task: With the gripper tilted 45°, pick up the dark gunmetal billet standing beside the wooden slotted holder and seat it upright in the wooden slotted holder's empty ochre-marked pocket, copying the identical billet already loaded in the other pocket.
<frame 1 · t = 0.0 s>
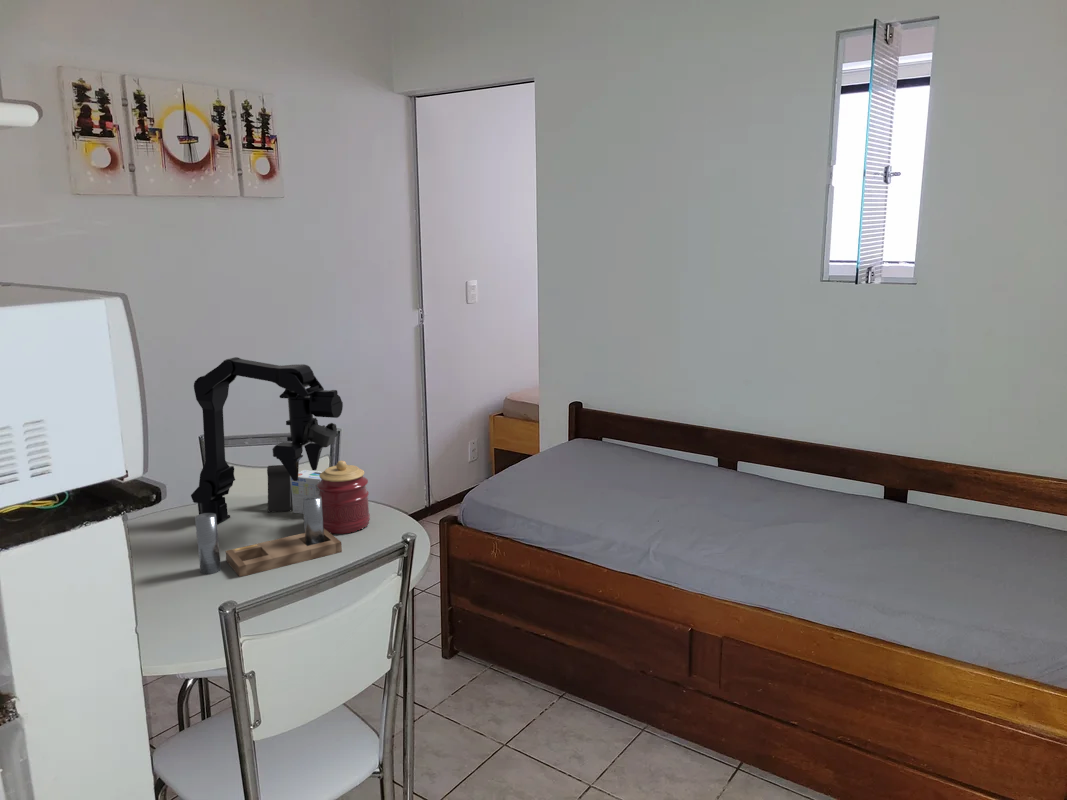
hand: (305, 475, 202), 15 cm above the table, tool pointing down, fingers open, 9 cm apart
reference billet: (315, 549, 192), resting in wooden slotted holder
canister: (345, 526, 208), on the table
billet: (210, 570, 181), on the table
light bulb box: (315, 512, 219), on the table
phone stand: (282, 507, 222), on the table
wooden slotted holder: (284, 556, 188), on the table
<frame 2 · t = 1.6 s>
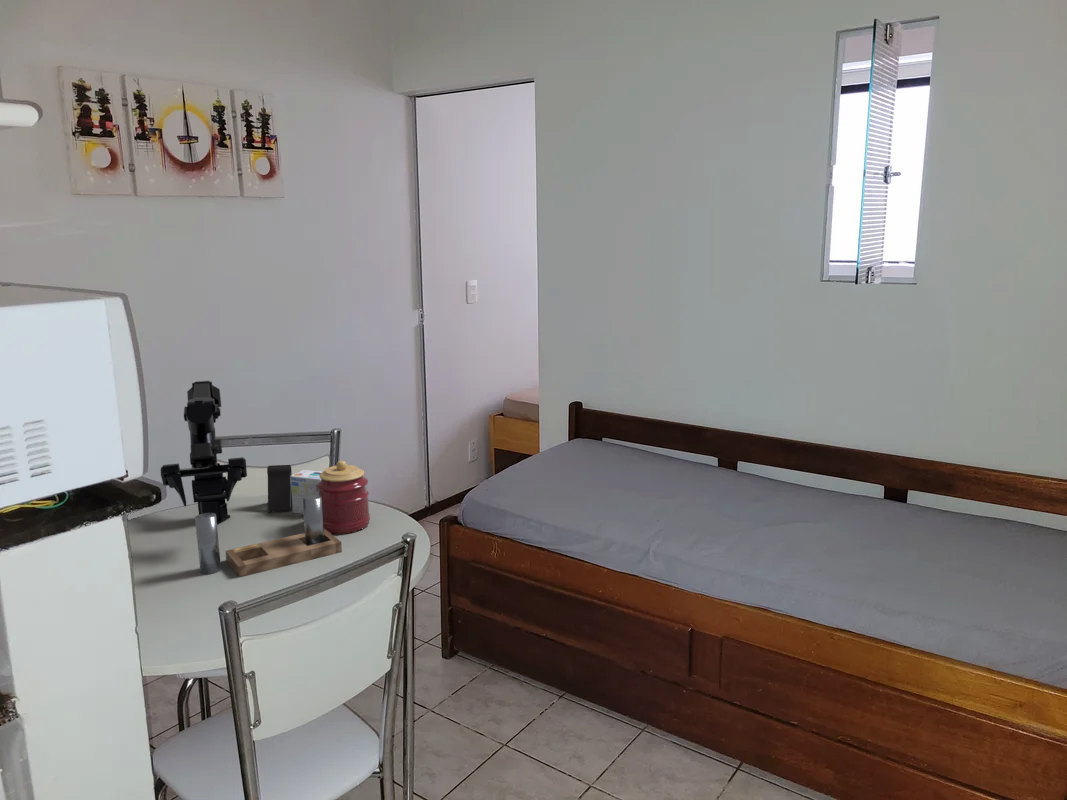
hand: (206, 503, 185), 13 cm above the table, tool tilted 45°, fingers open, 9 cm apart
nothing on the table moved.
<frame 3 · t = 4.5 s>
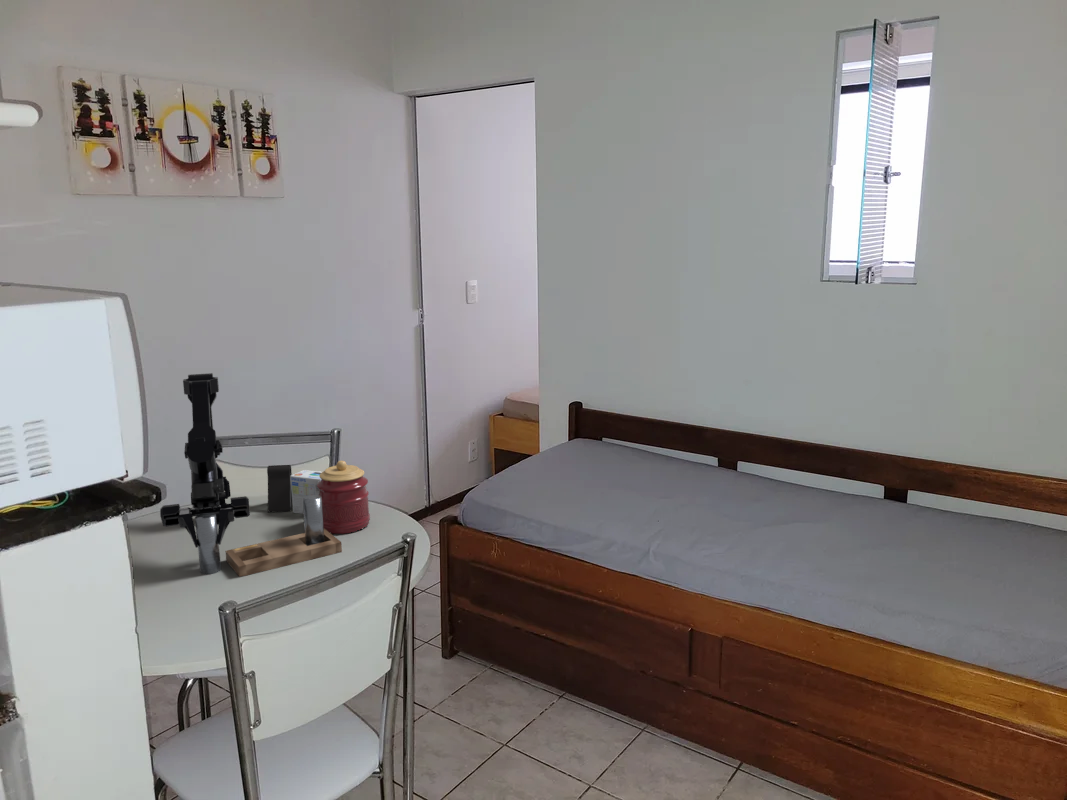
hand: (208, 545, 178), 7 cm above the table, tool tilted 45°, fingers closed on billet, 4 cm apart
billet: (210, 570, 181), on the table, touching gripper
everything else where it was.
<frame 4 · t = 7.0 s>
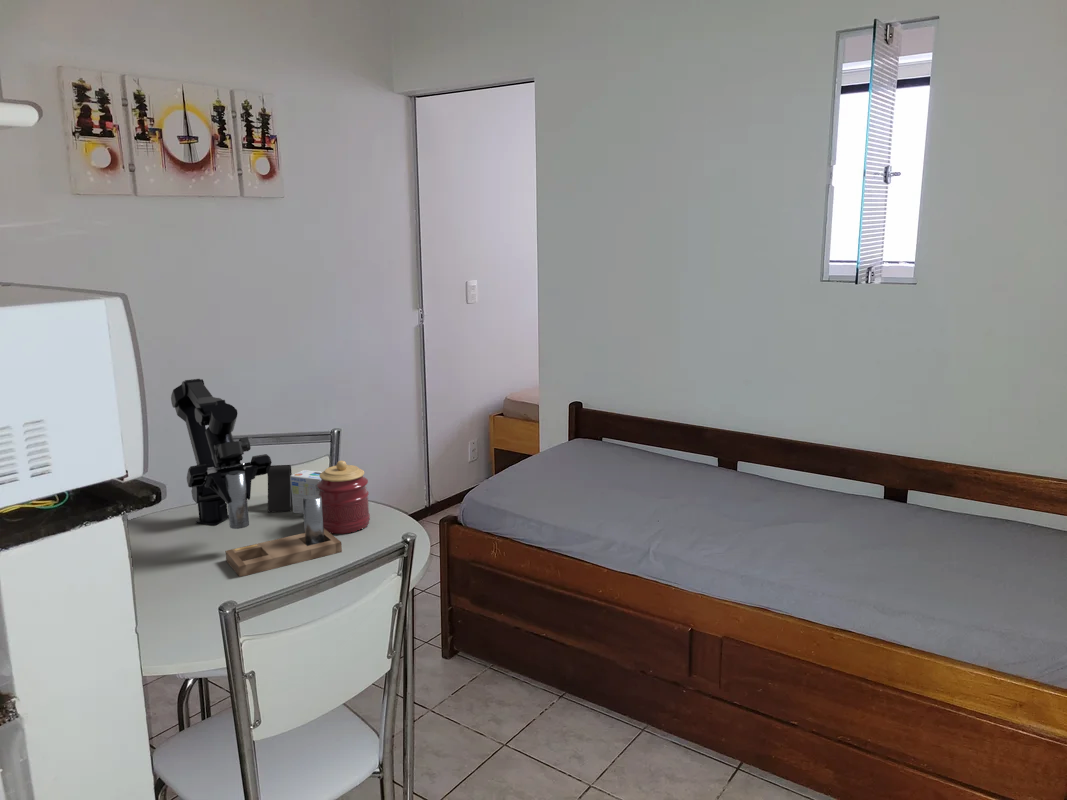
hand: (238, 500, 187), 13 cm above the table, tool tilted 45°, fingers closed on billet, 4 cm apart
billet: (239, 525, 189), point 7 cm above the table, touching gripper
everything else where it was.
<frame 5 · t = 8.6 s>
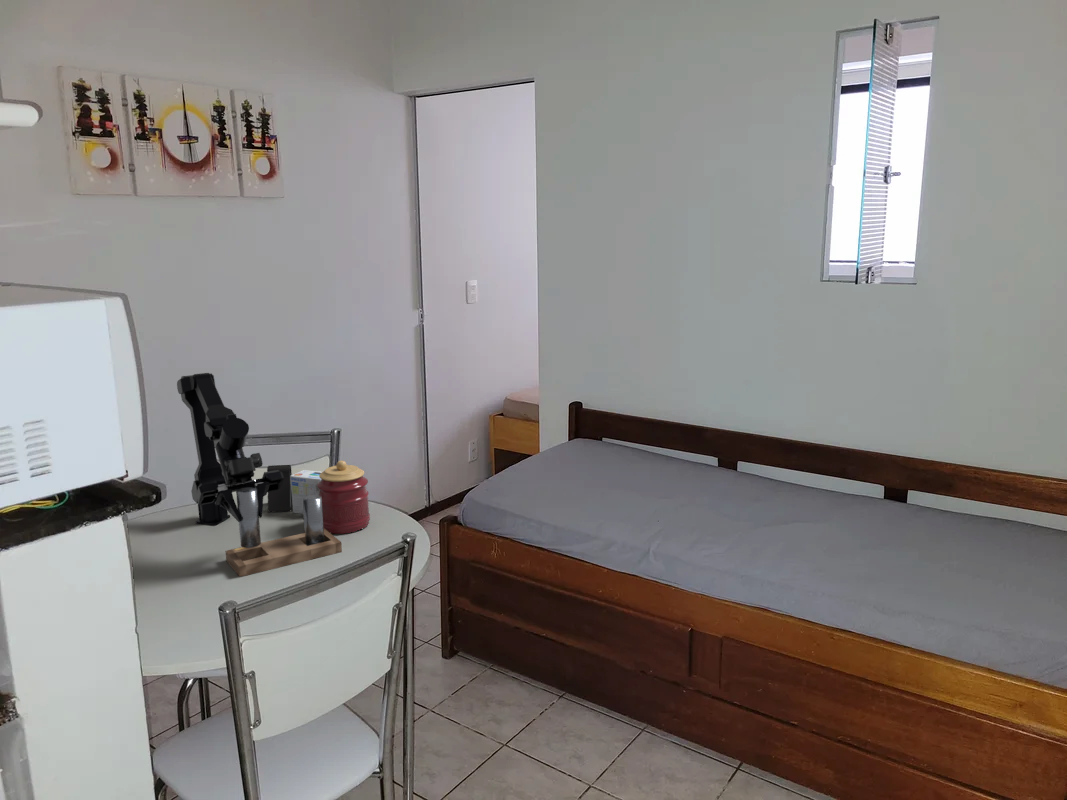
hand: (250, 519, 180), 11 cm above the table, tool tilted 45°, fingers closed on billet, 4 cm apart
billet: (250, 544, 183), point 5 cm above the table, touching gripper
everything else where it was.
when the fingers open (8 cm above the table, at t = 9.7 s): billet drops 1 cm, resting in wooden slotted holder.
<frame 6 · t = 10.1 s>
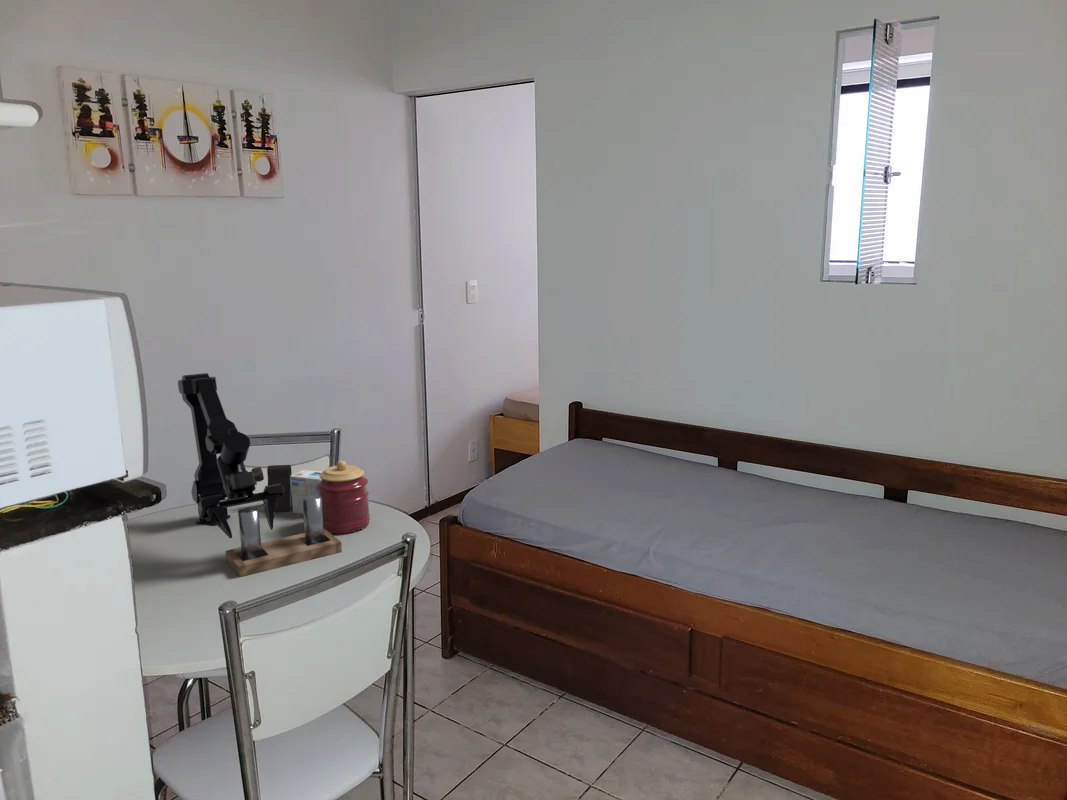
hand: (251, 533, 181), 8 cm above the table, tool tilted 45°, fingers open, 9 cm apart
billet: (252, 563, 184), resting in wooden slotted holder
everything else where it was.
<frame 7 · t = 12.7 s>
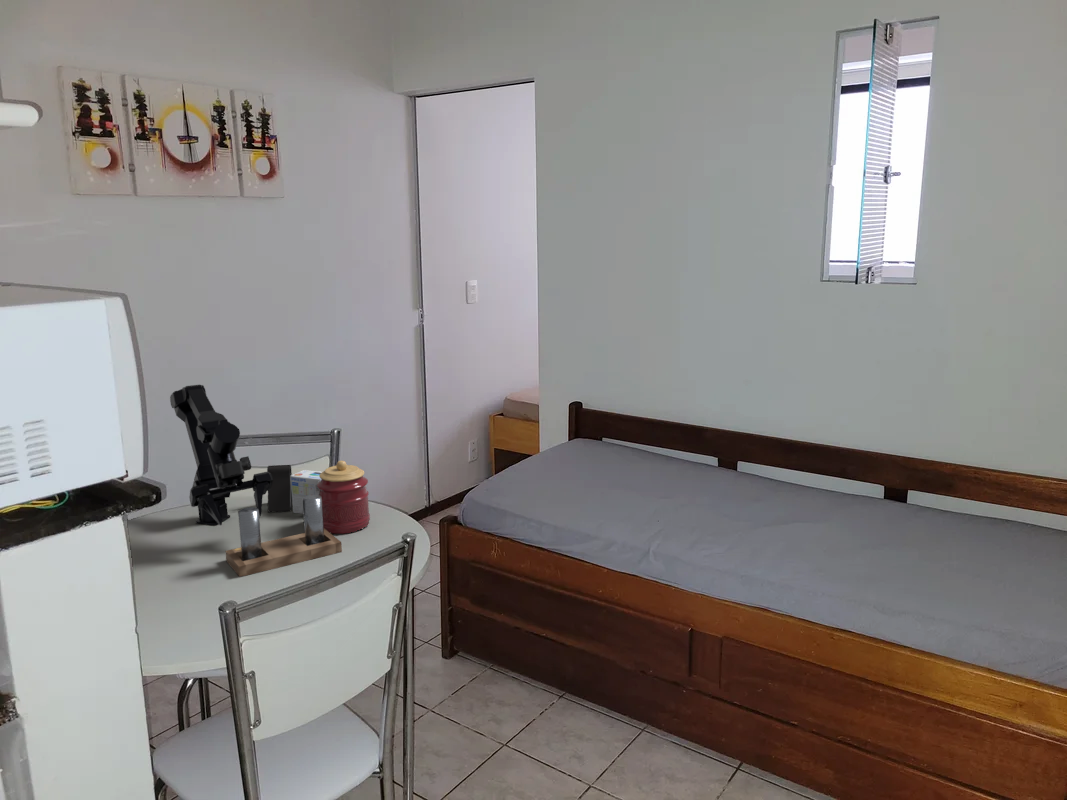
hand: (241, 519, 189), 8 cm above the table, tool tilted 45°, fingers open, 9 cm apart
nothing on the table moved.
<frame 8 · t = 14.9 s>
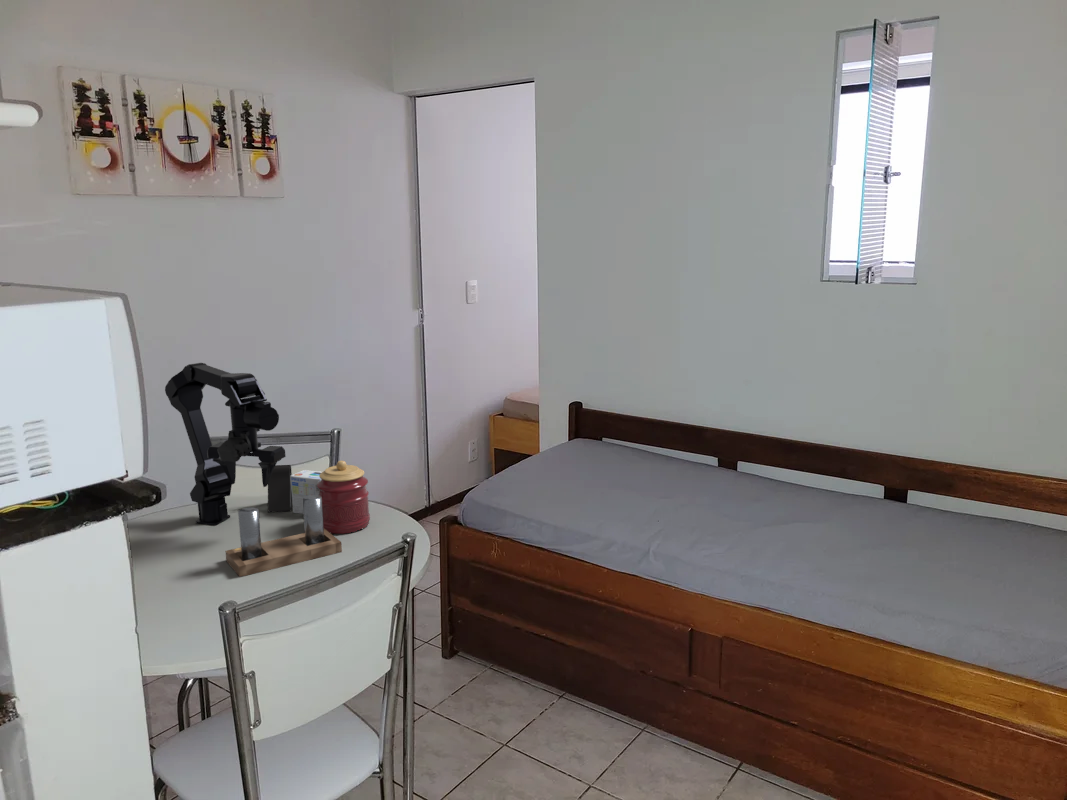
hand: (249, 485, 199), 13 cm above the table, tool pointing down, fingers open, 9 cm apart
nothing on the table moved.
at the end: billet 0.1 cm from the target spot, resting in wooden slotted holder; billet tilted 0°; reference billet moved 0.0 cm from its start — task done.
